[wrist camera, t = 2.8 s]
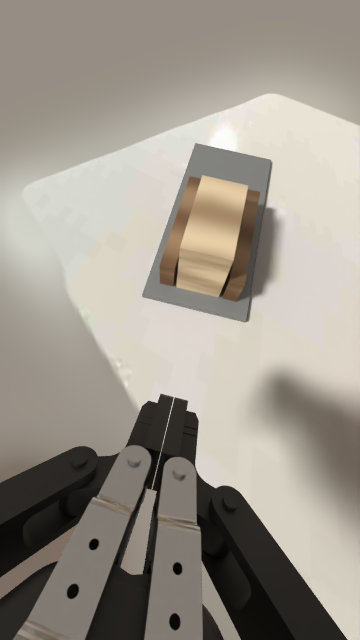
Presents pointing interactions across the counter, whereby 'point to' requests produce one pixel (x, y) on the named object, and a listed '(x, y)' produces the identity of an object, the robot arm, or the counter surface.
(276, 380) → the counter surface
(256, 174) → the chute board
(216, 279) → the oak block
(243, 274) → the chute rails
